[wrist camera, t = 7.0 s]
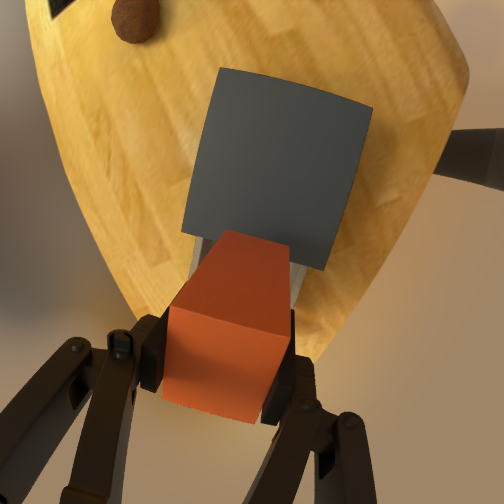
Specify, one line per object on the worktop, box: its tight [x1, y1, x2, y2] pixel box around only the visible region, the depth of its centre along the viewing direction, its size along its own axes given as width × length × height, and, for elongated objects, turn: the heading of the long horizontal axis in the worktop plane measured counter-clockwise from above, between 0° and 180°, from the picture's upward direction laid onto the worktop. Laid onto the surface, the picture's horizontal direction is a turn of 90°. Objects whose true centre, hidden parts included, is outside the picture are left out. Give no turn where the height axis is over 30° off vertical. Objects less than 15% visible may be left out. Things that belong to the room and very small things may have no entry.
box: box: [162, 230, 291, 424], centre depth 18 cm, size 5×6×12 cm
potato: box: [111, 0, 160, 44], centre depth 26 cm, size 7×10×6 cm
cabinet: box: [181, 67, 373, 271], centre depth 31 cm, size 17×15×9 cm
